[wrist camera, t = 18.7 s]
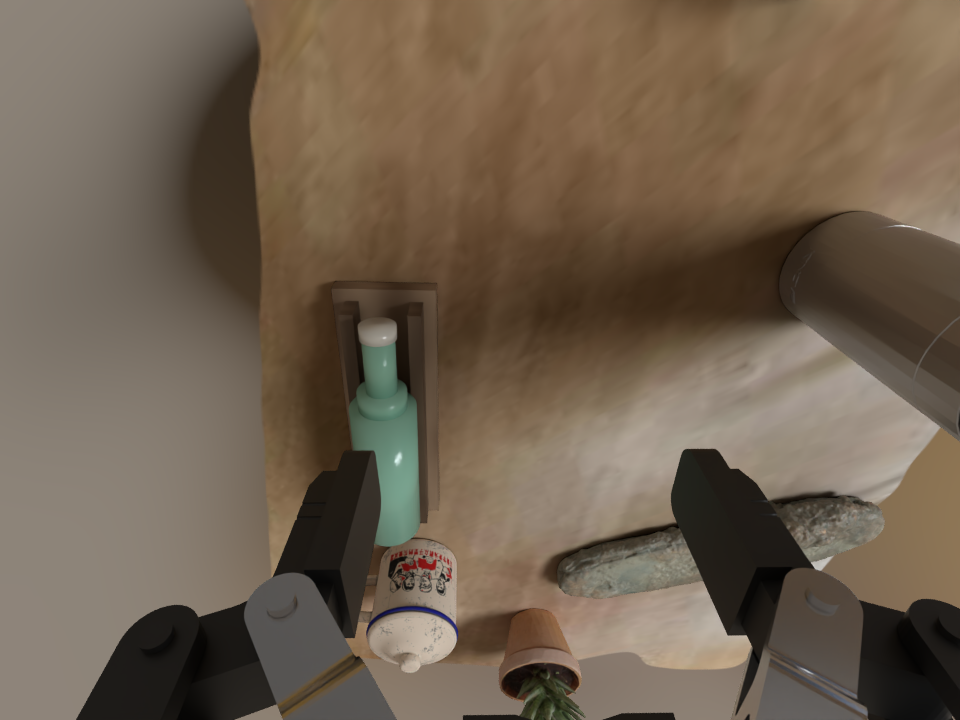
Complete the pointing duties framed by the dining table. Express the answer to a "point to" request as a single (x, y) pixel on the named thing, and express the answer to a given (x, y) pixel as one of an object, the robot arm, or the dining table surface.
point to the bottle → (388, 431)
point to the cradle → (397, 359)
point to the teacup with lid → (413, 605)
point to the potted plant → (540, 667)
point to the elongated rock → (670, 563)
